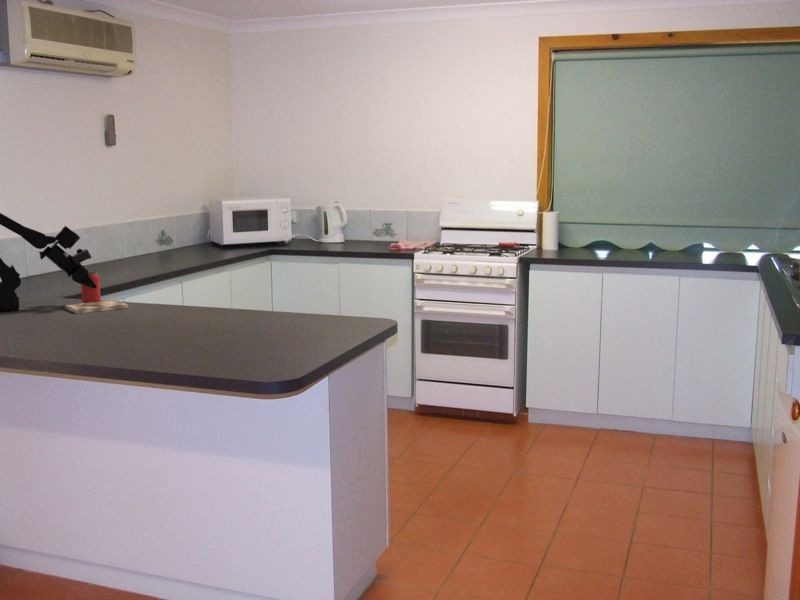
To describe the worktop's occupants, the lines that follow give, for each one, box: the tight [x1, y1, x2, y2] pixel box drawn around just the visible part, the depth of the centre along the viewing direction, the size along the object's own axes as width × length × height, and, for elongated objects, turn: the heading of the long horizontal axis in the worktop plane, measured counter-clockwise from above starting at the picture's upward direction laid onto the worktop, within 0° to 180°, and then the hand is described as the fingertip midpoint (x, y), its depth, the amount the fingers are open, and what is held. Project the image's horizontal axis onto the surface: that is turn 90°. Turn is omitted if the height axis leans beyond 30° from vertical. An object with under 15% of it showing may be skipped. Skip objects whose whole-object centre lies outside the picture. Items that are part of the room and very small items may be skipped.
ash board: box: [64, 300, 129, 314], centre depth 303 cm, size 18×13×2 cm
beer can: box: [80, 271, 102, 304], centre depth 313 cm, size 7×7×12 cm
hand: (94, 286), depth 314 cm, fingers closed on beer can, 7 cm apart
